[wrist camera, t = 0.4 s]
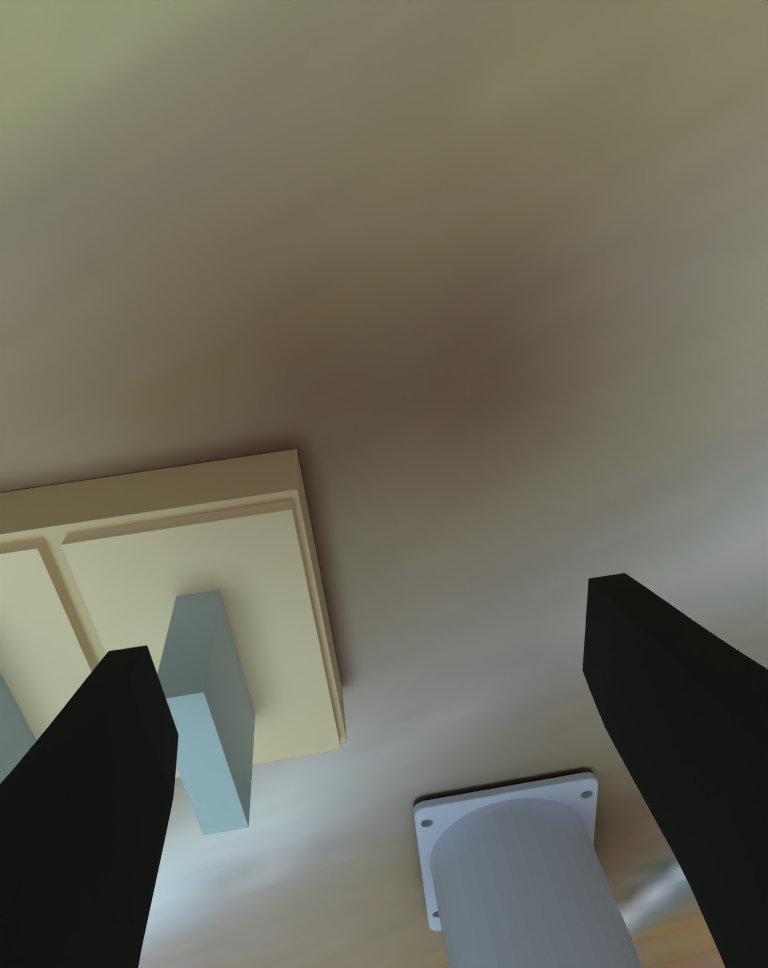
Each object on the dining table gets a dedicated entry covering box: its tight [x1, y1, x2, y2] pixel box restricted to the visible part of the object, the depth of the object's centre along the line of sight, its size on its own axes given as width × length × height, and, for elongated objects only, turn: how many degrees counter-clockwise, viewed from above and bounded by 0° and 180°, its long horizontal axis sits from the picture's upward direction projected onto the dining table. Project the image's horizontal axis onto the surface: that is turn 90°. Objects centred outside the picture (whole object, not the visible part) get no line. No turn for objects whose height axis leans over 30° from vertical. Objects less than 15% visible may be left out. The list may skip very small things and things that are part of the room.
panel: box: [0, 449, 347, 743], centre depth 21 cm, size 10×13×2 cm
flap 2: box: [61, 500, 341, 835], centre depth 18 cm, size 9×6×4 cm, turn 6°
